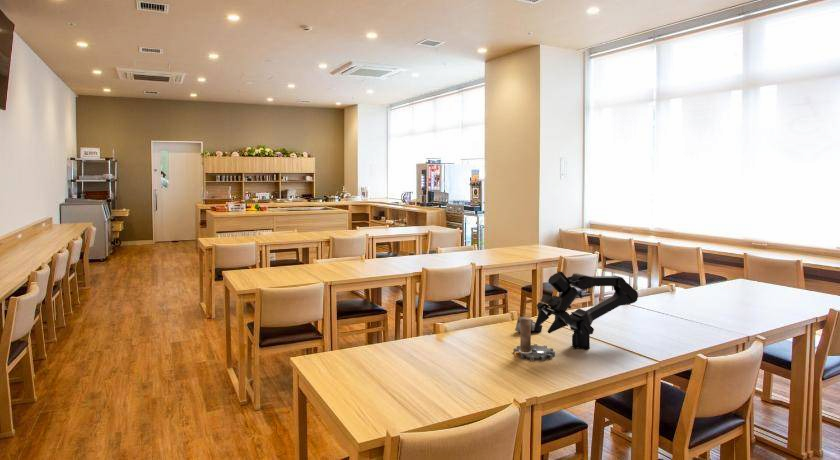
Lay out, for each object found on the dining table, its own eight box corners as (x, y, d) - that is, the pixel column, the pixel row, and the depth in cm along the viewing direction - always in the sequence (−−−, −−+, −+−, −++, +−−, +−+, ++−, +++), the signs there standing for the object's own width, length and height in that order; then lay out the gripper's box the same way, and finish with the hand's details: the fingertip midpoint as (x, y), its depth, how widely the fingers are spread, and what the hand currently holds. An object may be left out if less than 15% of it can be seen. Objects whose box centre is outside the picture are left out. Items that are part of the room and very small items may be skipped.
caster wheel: (540, 334, 246) (540, 337, 236) (516, 327, 248) (514, 330, 239) (543, 320, 246) (543, 322, 236) (519, 313, 248) (518, 316, 239)
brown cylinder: (529, 348, 212) (529, 317, 211) (531, 352, 209) (531, 319, 207) (519, 349, 212) (519, 317, 211) (521, 352, 208) (521, 320, 207)
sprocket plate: (555, 349, 217) (556, 344, 216) (553, 362, 201) (553, 357, 201) (516, 346, 221) (516, 341, 221) (511, 359, 206) (511, 354, 206)
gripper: (540, 282, 221) (517, 311, 218) (567, 291, 203) (542, 323, 201) (556, 299, 224) (533, 327, 222) (584, 309, 207) (560, 340, 204)
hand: (541, 329), depth 212 cm, fingers open, 9 cm apart
